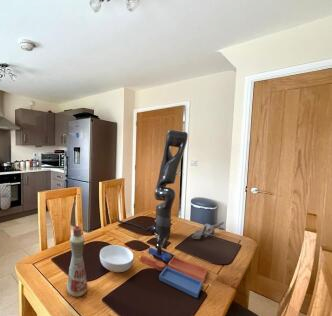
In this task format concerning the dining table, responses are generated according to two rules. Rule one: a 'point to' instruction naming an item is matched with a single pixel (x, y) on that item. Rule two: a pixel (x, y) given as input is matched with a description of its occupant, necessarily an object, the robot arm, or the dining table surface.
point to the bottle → (77, 265)
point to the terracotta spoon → (153, 262)
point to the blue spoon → (164, 256)
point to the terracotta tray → (188, 268)
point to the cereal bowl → (116, 258)
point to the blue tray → (181, 281)
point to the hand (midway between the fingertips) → (161, 251)
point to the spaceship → (206, 230)
